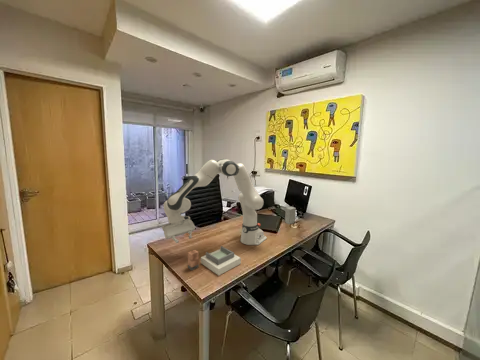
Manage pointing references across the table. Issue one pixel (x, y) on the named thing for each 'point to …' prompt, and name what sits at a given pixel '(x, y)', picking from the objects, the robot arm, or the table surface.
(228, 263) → the bay dock
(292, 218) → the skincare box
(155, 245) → the table surface
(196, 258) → the block
